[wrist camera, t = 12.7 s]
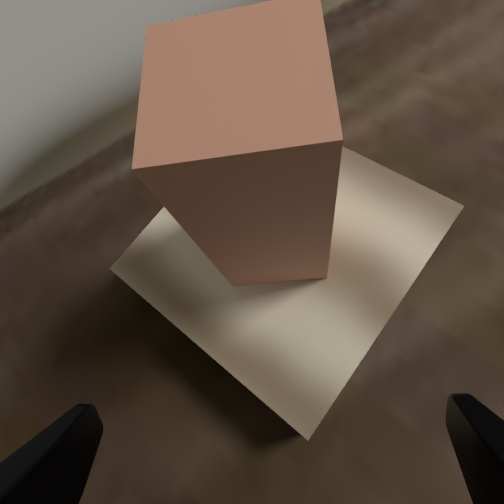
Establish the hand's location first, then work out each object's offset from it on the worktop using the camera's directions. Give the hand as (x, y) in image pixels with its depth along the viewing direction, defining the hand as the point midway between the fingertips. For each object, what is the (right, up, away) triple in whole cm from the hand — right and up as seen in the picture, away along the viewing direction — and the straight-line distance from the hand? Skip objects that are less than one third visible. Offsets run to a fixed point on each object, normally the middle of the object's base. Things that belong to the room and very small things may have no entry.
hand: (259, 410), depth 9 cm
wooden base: (+2, +4, +13) cm, 14 cm away
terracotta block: (+1, +5, +10) cm, 11 cm away
